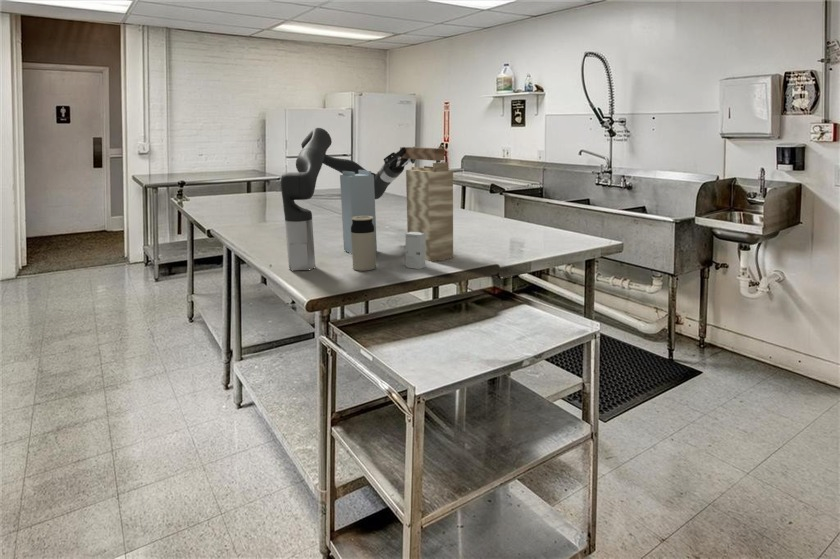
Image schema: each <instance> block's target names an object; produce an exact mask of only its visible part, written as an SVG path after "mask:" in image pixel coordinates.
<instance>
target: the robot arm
mask: <svg viewBox="0 0 840 559" xmlns="http://www.w3.org/2000/svg"><path fill="white" fill-rule="evenodd" d="M300 145H301V148H302V149H301V150H300V152H299V153H298V155H297V158H296V159H295V160H296V161H295V168H296V171H297V172H296V171H295V172H292V171H291V172H284V173H283V174H281V177H280V190H281V197H282V205H283V206H282V208H283V214H284V224H285V235H286V236H285V237H286V248H287V258H288V259H287V260H288V269H289V268H290V269H291V270H309V269H311V270H313V269H312V268H314V267H315V268H316V267H317V266H316V254H315V252H316V251H315V241H314V240H315V238H314V226H313V213H312V211H311V210H309V209H307V208H304V207H302V206H299V205H298V204H297V203H296V202H295V201H302V200H303V201H304V200H310V199H312V197H313V196H314V194H315V190H316V185H317V179H318V176H319V174H320V171H321V169H322V166H323V165H325V166H327V167H328V168H331V169H333V170H335V171H337V172H339V173H340V174H341V175H343V171H349V172H355V174H359V171H358V170H365V171H368V170H367V169H366V168H364V167H363V166H362V165H360V164H359V163H357V162H356V161H354V160H350V159H346V158H336V157H333V156H330V155H328V154H326V153H327V151H328V149H329V148H330V147H331V145H332V138H331V135H330V133H328V131H327V130H325V129H324V128H323V127H316V128H315V127H314V128H313V129H312V130H311V131H310V133H308V134H307V136H305V138H304V139H303V140H302V142H301V144H300ZM401 147H402V146H401ZM405 147H406V146H403V147H402V149H400V148H399V150H398V151H396V152H391V153H390V154H388V155H387V156H386V157H384V158H383V162H384V163H383V165H381V167H380V169H379V170H378V171H377V172H376V173H374V172H372V171H371V175H374V191H375V200H378V199H380V198H381V197H382V196H383V195H384V193H385V192H386V191H387V188H388V187H389V186H390V185H391V184H392V182H394V181H395V180H396V179H397V178H398V177H399V176H400V175H401V174H402V173H403V172H404V170H405V166H407V165H408V164H409V163H411V164H415V163H416V160H417V159H406V158H401V157H402V156H403V155H404V154H405V153H406V150H405ZM315 268H314V269H315ZM290 269H289V270H290ZM291 270H290V271H291ZM309 271H310V270H309Z"/></svg>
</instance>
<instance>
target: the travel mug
mask: <svg viewBox="0 0 840 559" xmlns="http://www.w3.org/2000/svg"><path fill="white" fill-rule="evenodd" d="M351 219H352V222H353V224H352V226H351V241H352V254H351V255H352V256H351V257H352V258H351V259H352V260H351V261H352V269H353V270H354V271H360V272H368V271H373V270H374V269H376V267H377V265H376V264H377V263H376V261H377V260H376V252H375V234H374V225H373V223H372V219H373V217H372V216H355V217H352V218H351Z"/></svg>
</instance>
